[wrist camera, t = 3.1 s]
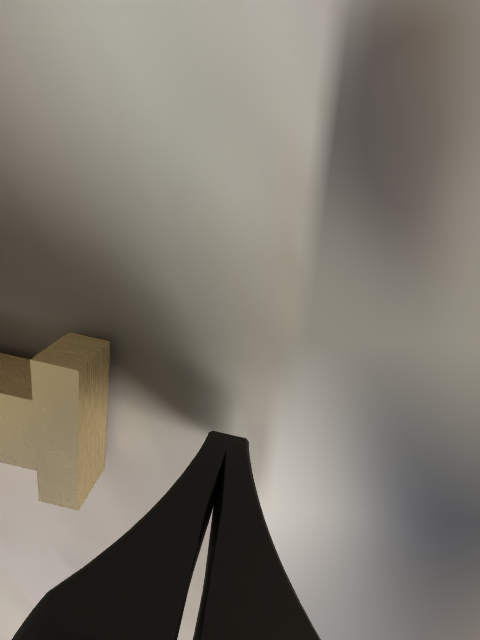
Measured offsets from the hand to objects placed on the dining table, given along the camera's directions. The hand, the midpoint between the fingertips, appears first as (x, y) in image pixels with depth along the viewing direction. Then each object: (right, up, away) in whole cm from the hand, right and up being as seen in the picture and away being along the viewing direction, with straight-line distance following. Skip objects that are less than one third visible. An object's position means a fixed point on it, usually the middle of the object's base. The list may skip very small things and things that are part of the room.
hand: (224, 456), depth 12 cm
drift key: (-8, +2, +1) cm, 8 cm away
